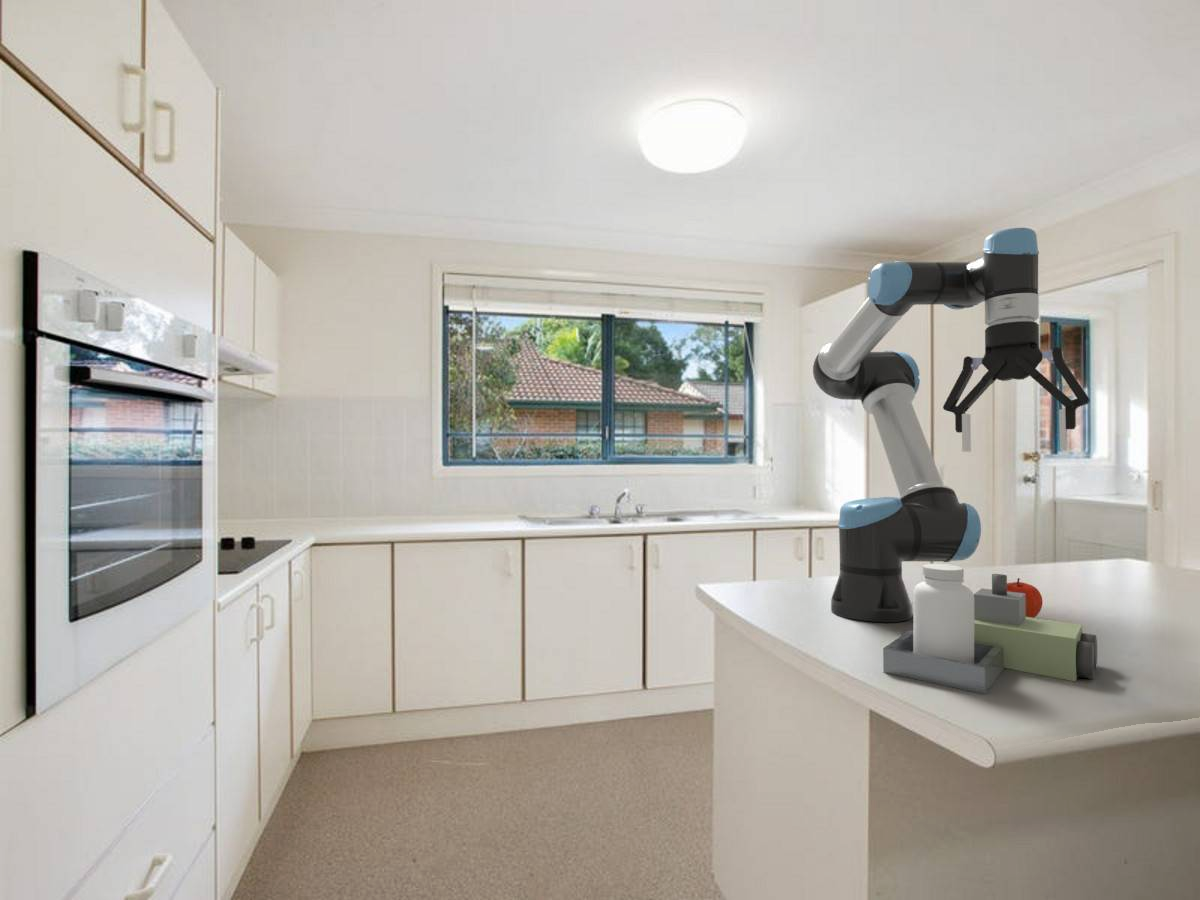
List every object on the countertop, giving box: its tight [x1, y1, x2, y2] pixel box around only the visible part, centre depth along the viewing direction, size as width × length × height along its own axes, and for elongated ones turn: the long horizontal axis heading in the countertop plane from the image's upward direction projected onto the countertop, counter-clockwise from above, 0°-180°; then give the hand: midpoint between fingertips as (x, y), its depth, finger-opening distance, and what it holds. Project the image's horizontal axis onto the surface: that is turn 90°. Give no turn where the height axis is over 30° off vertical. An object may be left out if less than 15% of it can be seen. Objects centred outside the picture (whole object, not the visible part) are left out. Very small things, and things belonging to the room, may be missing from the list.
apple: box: [1007, 577, 1044, 618], centre depth 122 cm, size 8×8×8 cm
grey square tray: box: [882, 629, 1005, 695], centre depth 92 cm, size 13×13×4 cm
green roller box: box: [973, 573, 1098, 682], centre depth 98 cm, size 21×11×13 cm, turn 48°
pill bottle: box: [912, 563, 974, 664], centre depth 92 cm, size 8×8×15 cm
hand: (1013, 451), depth 103 cm, fingers open, 13 cm apart
